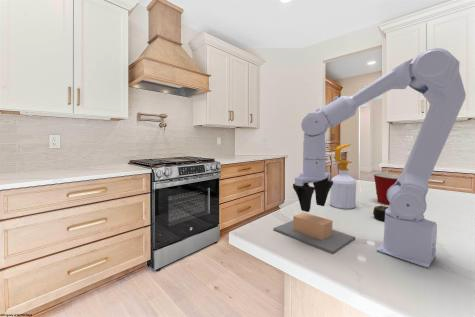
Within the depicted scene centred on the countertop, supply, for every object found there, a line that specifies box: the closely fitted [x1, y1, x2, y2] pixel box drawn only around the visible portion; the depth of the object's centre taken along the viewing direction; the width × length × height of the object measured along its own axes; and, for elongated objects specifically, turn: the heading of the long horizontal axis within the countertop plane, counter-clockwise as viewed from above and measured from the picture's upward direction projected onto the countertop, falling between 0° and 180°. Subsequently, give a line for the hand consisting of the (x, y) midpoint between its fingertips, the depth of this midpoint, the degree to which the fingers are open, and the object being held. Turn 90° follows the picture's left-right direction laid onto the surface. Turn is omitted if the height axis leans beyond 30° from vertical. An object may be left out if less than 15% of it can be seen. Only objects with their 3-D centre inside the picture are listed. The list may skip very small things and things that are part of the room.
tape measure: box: [372, 205, 389, 221], centre depth 74 cm, size 7×7×4 cm
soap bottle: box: [329, 143, 357, 210], centre depth 88 cm, size 9×9×25 cm
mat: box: [272, 220, 356, 255], centre depth 62 cm, size 18×12×1 cm, turn 40°
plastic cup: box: [372, 172, 400, 206], centre depth 92 cm, size 11×11×12 cm
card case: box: [292, 211, 334, 240], centre depth 62 cm, size 5×9×4 cm, turn 40°
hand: (313, 208), depth 62 cm, fingers open, 7 cm apart
